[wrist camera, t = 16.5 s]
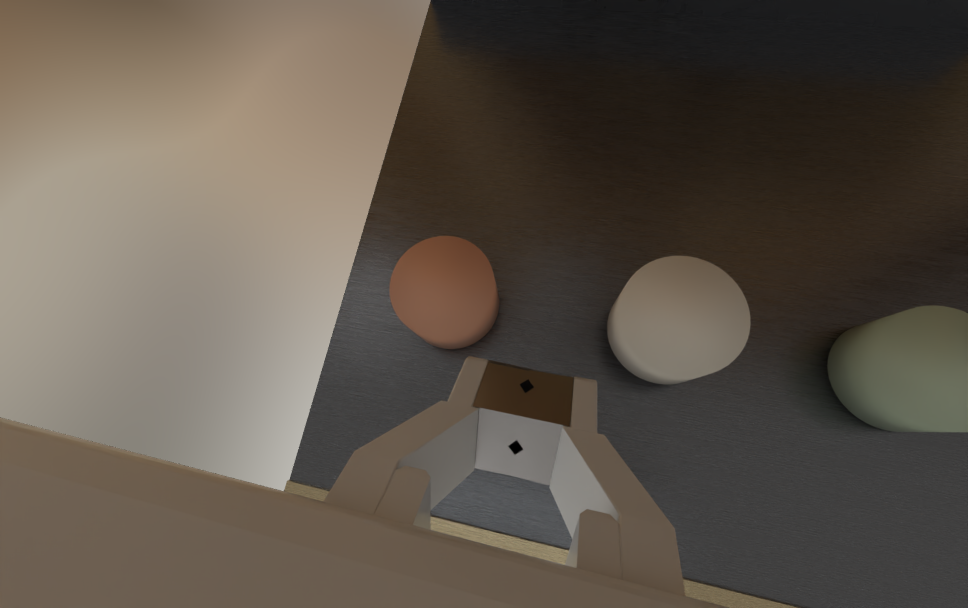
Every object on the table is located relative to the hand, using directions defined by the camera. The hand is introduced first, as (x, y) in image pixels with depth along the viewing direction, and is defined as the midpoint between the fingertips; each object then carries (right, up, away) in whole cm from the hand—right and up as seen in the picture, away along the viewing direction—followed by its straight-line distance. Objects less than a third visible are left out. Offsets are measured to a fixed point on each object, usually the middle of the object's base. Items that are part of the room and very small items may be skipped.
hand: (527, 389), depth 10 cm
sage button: (+17, +1, +8) cm, 19 cm away
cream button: (+7, +3, +9) cm, 12 cm away
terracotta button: (-2, +5, +11) cm, 13 cm away
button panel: (+12, +21, +17) cm, 30 cm away
